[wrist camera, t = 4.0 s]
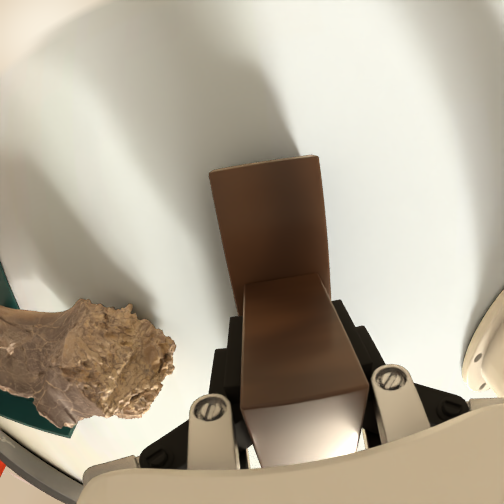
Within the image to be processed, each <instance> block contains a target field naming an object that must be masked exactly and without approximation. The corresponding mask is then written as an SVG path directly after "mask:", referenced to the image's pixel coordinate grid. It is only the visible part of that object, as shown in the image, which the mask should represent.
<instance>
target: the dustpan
mask: <svg viewBox="0 0 504 504" xmlns="http://www.w3.org/2000/svg"><path fill="white" fill-rule="evenodd" d="M0 305H1V306H4V307H7V308H12V309H19V306H18V304H17V302H16V300H15V298H14V295H13V293H12V291H11V288H10V286H9V283H8V281H7V278H6V276H5V273H4V270H3V268H2V265H1V262H0ZM32 402H34V398H31V397H30V398H25V397H21V396H17V395H12V394H10V393H9V392H7V391H3V390H1V389H0V416H2V417H5V418H7V419H10V420H12V421H15V422H18V423H20V424H23V425H26V426H29V427H32V428H35V429H38V430H41V431H45V432H48V433H51V434H55V435H59V436H62V437H66V438H71V436H72V434H73V431H74V429H75V427H76V425H74V426H73V428H70V427H68V426H63V427H62V428H61V429H60V428H58V427H56V426H55V425H54V424H52V423H50V421H49V420H47V419H46V418H45V417H43V416H40V415H39V412H38V411H37V409H36V406H35V405H34V404H33V403H32ZM77 423H78V422H77Z"/></svg>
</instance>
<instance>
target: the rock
mask: <svg viewBox="0 0 504 504" xmlns="http://www.w3.org/2000/svg"><path fill="white" fill-rule="evenodd" d="M132 309H133V306H132V304H128V305H127V306H126V307H125V309H124V308H121V310H120V309H117V310H115V309H114V307H112V308H110V307H108V308H106V307H104V306H103V305H102V304H97V305H96V304H92V303H91V301H90V300H89V299H87V300H85V299H79V300H78V301H77V302H76V303H75V305H74V306H73V307H72V308H70V309H69V310H66V311H63V312H56V313H49V312H37V311H28V310H20V309H12V308H7V307H4V306H1V305H0V389H1V390H3V391H7V392H9V393H10V394H12V395H17V396H21V397H25V398H30V397H31V398H34V402H32V403H33V404H34V405H35V406H36V409H37V411H38V412H39V415H40V416H43V417H45V418H46V419H47V420H49V421H50V423H52V424H54V425H55V426H56V427H58V428H60V429H61V428H62V427H63V426H68V427H70V428H73V426H74V425H77V422H78V421H80V420H83V419H84V418H90V417H92V416H93V415H97V416H103V417H105V418H109V417H111V416H113V414H114V415H117V416H118V417H119V418H125V419H132V418H140V417H142V414H144V413H145V412H147V411H148V410H149V409H150V404H152V402H154V399H155V398H156V396H158V394H159V391H161V388H162V386H163V385H162V384H161V382H162V381H163V380H164V378H165V376H167V375H170V374H172V372H173V370H174V368H175V367H174V365H172V364H173V357H172V356H173V352H174V351H175V348H176V345H175V343H174V340H172V339H171V338H170V337H169V336H168V337H166V336H165V335H164V334H163V331H162V330H160V329H155V327H154V326H153V324H151V323H150V321H148V320H147V319H142V320H138V319H137V318H138V317H137V316H136V313H134V314H131V311H132Z"/></svg>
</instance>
